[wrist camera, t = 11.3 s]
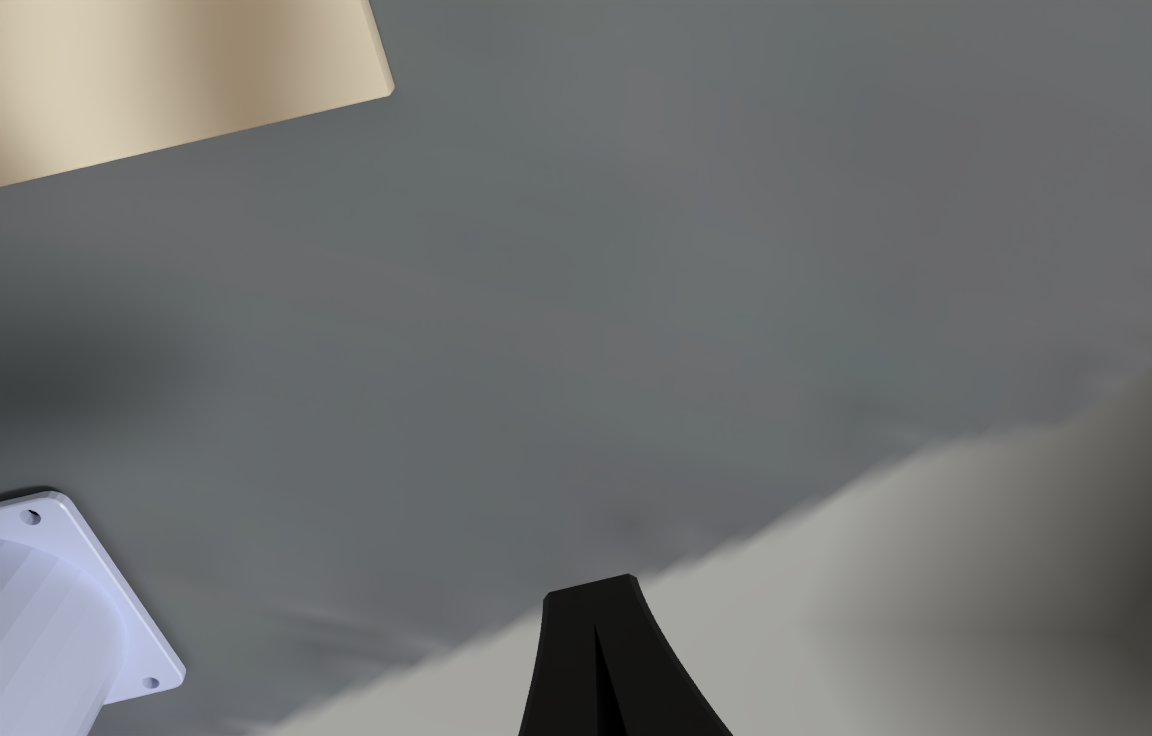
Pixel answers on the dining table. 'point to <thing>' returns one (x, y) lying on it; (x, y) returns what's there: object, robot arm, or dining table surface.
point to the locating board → (171, 73)
